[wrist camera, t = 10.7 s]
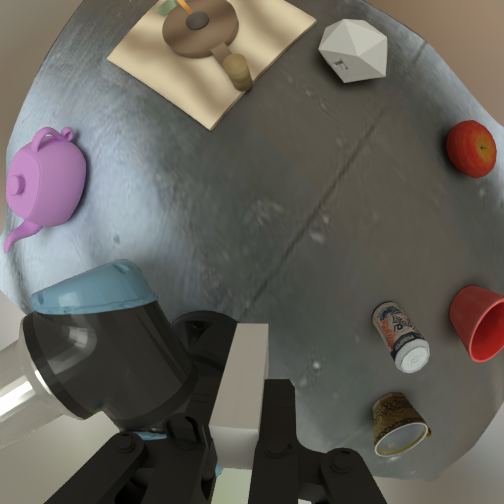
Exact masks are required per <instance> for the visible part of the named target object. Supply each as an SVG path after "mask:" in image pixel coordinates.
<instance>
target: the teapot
mask: <svg viewBox="0 0 504 504" xmlns="http://www.w3.org/2000/svg"><path fill="white" fill-rule="evenodd" d="M47 134H51V135H53V136H47V137H45V136H46V135H47ZM72 138H73V130H72V129H71V128H70V127H65V128H64V129H63V130H62V132H61V134H60V133H59V132H57V131H56V130H55V129H53V128H50V127H44V128H42V129H40V130H39V131H38V132H37V133H36V135H35V136H34V138H33V140H32V142H30V143H29V144H27V145H26V146H24V147H23V148H21V149H20V150H19V151H18V152H17V153H16V154H15V156H14V158H13V160H12V163H11V166H10V169H9V172H8V177H7V185H6V198H7V202H8V204H9V206H10V208H11V209H12V210H13V211H14V212H15V213H16V214H17V215H18V216H20V217H21V218H23V219H25V220H24V222H23V223H22V224H21V225H20V226H19V227H18V228H16V229H15V230H14V231H13V232H11V233H10V235H9V236H8V237H7V239H6V241H5V244H4V252H5V253H7V252H8V250H9V249H10V247H11V246H12V245H13V244H14V243H15V242H16V241H18V240H20V239H22V238H26V237H29V236H32V235H34V234H36V233H37V232H39V231H40V230H41V229H42V227H43V226H57V225H61V224H63V223H65V222H66V221H67V220H68V219H69V218H70V216H71V215H72V213H73V212H74V210H75V208H76V206H77V204H78V202H79V200H80V198H81V195H82V192H83V188H84V183H85V177H86V162H85V158H84V156H83V154H82V152H81V151H80V149H79V148H78V147H77V146H75V145H74V144H73V143H72V142H70V141H71V139H72Z"/></svg>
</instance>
